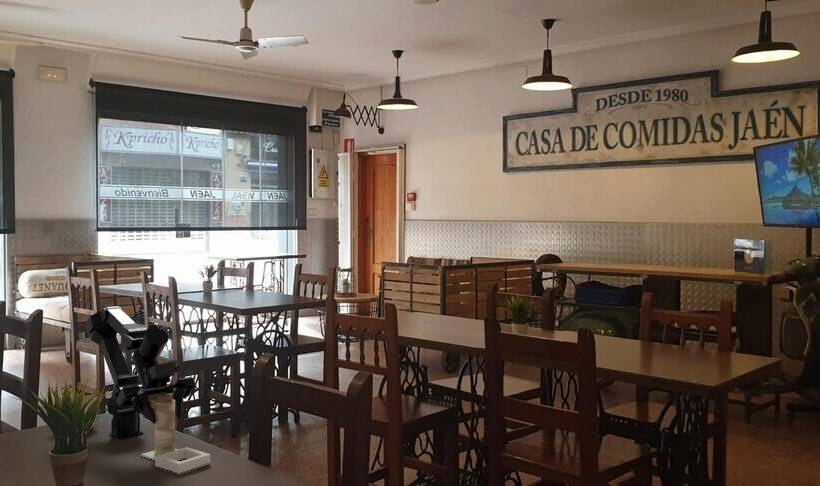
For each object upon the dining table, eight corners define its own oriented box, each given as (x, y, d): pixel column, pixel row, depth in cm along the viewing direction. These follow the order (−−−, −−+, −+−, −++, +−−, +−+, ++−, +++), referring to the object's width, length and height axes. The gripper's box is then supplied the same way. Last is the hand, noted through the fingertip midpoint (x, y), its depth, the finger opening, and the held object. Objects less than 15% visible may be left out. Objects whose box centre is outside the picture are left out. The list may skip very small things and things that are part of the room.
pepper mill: (167, 449, 185) (167, 391, 184) (178, 452, 182) (179, 394, 181) (150, 453, 181) (150, 395, 180) (162, 457, 178) (162, 397, 178)
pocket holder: (186, 456, 181) (186, 447, 180) (210, 464, 175) (210, 454, 175) (155, 466, 173) (155, 456, 173) (178, 474, 168) (178, 464, 168)
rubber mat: (168, 448, 187) (168, 446, 187) (188, 455, 182) (188, 452, 182) (141, 456, 180) (141, 454, 180) (160, 463, 176) (160, 460, 176)
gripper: (121, 354, 177) (140, 408, 169) (193, 346, 190) (213, 396, 182) (108, 380, 183) (126, 434, 175) (178, 371, 196) (198, 420, 188)
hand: (167, 420), depth 180 cm, fingers open, 6 cm apart
